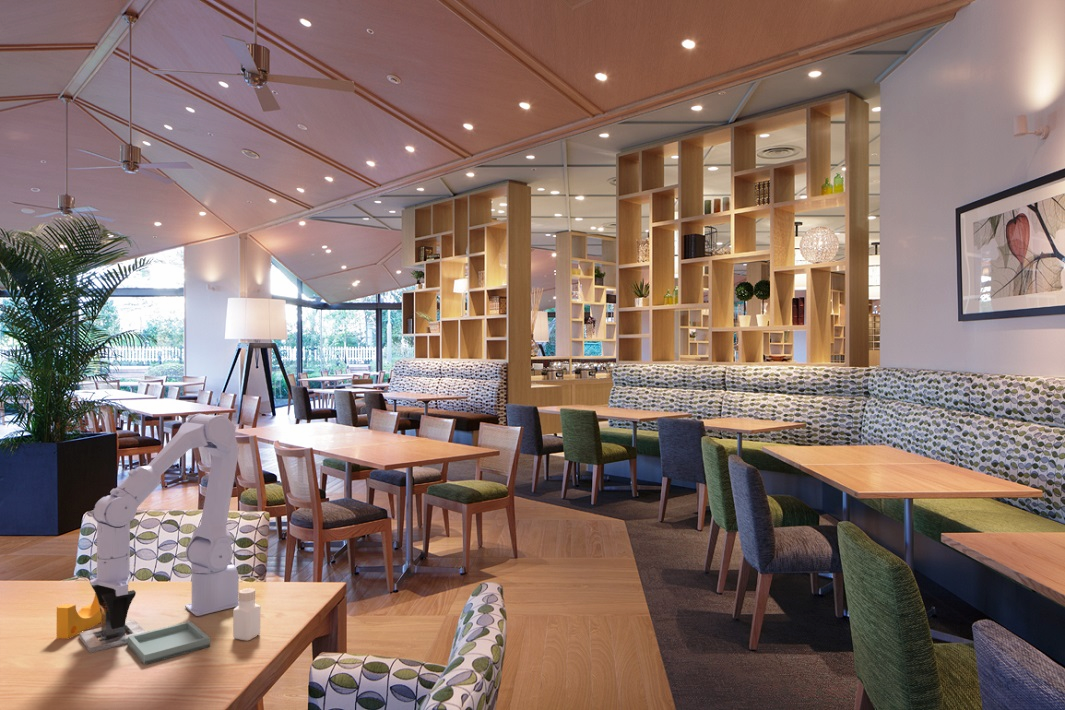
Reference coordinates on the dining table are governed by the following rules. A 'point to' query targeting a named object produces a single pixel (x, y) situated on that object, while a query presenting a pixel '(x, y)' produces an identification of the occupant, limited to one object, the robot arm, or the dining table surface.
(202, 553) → the robot arm
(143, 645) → the tray
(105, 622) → the pin
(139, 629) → the socket
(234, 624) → the pepper shaker
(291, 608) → the dining table surface
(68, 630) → the pipe clamp
